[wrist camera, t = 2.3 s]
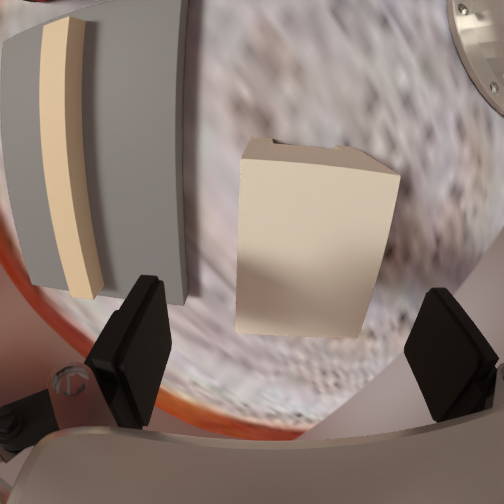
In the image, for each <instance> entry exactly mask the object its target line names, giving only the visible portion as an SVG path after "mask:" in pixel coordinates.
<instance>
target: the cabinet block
mask: <svg viewBox="0 0 504 504" xmlns="http://www.w3.org/2000/svg"><path fill="white" fill-rule="evenodd" d="M400 177H401V176H400V175H399V174H397V173H396V172H394V171H392V170H391V169H389V168H388V167H386V166H384V165H383V164H381V163H380V162H378V161H376V160H375V159H373V158H371V157H370V156H368V155H366V154H364V153H363V152H361V151H359V150H358V149H356V148H354V147H348V146H340V145H334V149H327V148H318V147H308V146H298V145H287V144H274V143H273V141H272V139H270V138H254V137H251V139H250V141H249V143H248V145H247V147H246V149H245V151H244V153H243V155H242V157H241V165H240V191H239V219H238V250H237V285H236V327H235V333H245V334H260V335H277V336H300V337H342V338H358V336H359V333H360V330H361V327H362V325H363V322H364V319H365V316H366V313H367V309H368V306H369V303H370V300H371V297H372V293H373V290H374V287H375V283H376V280H377V276H378V273H379V269H380V266H381V262H382V258H383V255H384V251H385V247H386V243H387V239H388V235H389V230H390V226H391V222H392V217H393V213H394V208H395V203H396V198H397V193H398V188H399V183H400Z"/></svg>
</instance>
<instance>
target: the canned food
mask: <svg viewBox="0 0 504 504" xmlns="http://www.w3.org/2000/svg"><path fill="white" fill-rule="evenodd" d="M24 1H29V2H42V1H48V0H24Z"/></svg>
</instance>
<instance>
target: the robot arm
mask: <svg viewBox="0 0 504 504" xmlns="http://www.w3.org/2000/svg"><path fill="white" fill-rule="evenodd" d="M446 2H447V16H448V21H449V27H450V30H451V34H452V37H453V40H454V44H455V46H456V49H457V51H458V53H459V56H460V58H461V61H462V63H463V65H464V66H465V68H466V70H467V72H468V74H469V76H470V78H471V79H472V81H473V82H474V84H475V85H476V87H477V88H478V90H479V92H480V93H481V94H482V95H483V96H484V97H485V99H486V100H487V101H488V102H489V104H490V105H492V106H493V107H494V108H495V109H496V110H497V111H498V112H499V113H500V114H502V115H504V0H446ZM171 347H172V339H171V332H170V326H169V318H168V311H167V303H166V295H165V287H164V282H163V280H159V278H158V276H155V275H140V276H139V278H138V279H137V281H136V283H135V284H134V286H133V287H132V289H131V291H130V292H129V294H128V296H127V297H126V299H125V301H124V302H123V304H122V305H121V307H120V309H119V310H116V311H114V312H113V314H112V315H111V317H110V318H109V320H108V322H107V323H106V325H105V327H104V329H103V330H102V332H101V334H100V335H99V337H98V339H97V341H96V342H95V344H94V346H93V348H92V349H91V351H90V353H89V355H88V356H87V358H86V360H85V362H84V364H82V363H79V362H70V363H65V364H63V365H61V366H59V367H57V368H56V369H55V370H54V371H53V372H52V373H51V375H50V376H49V379H48V389H46V390H43V391H41V392H38V393H35V394H33V395H30V396H28V397H25V398H23V399H20V400H18V401H15V402H13V403H10V404H7V405H4V406H2V407H1V408H0V504H504V363H502V364H500V366H499V367H498V368H497V369H496V367H495V364H496V363H497V361H498V360H499V357H498V356H497V354H496V353H495V352H494V350H493V349H492V347H491V346H490V344H489V343H488V342H487V340H486V339H485V337H484V336H483V335H482V333H481V332H480V331H479V329H478V328H477V326H476V325H475V324H474V322H473V321H472V320H471V318H470V317H469V316H468V315H467V313H466V312H465V311H464V309H463V308H462V307H461V306H460V304H459V303H458V302H457V301H456V299H455V298H454V297H453V296H452V294H451V293H450V292H449V291H448V290H447V289H446V288H431V289H430V291H429V292H427V293H426V295H425V298H424V300H423V303H422V306H421V308H420V311H419V313H418V316H417V318H416V321H415V323H414V325H413V328H412V330H411V332H410V335H409V337H408V339H407V342H406V344H405V346H404V354H405V356H406V358H407V361H408V363H409V365H410V367H411V369H412V372H413V374H414V376H415V378H416V381H417V382H418V385H419V387H420V390H421V392H422V394H423V396H424V399H425V401H426V404H427V406H428V409H429V411H430V413H431V416H432V418H433V420H434V421H436V422H437V423H435V424H431V425H426V426H422V427H416V428H412V429H406V430H400V431H395V432H389V433H382V434H375V435H367V436H359V437H350V438H338V439H325V440H305V441H248V440H228V439H216V438H204V437H193V436H184V435H175V434H168V433H162V432H154V431H146V430H142V427H143V426H148V424H149V421H150V418H151V414H152V411H153V408H154V404H155V401H156V397H157V394H158V391H159V387H160V384H161V381H162V377H163V374H164V371H165V368H166V364H167V361H168V358H169V355H170V352H171Z"/></svg>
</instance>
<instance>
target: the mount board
mask: <svg viewBox="0 0 504 504" xmlns="http://www.w3.org/2000/svg"><path fill="white" fill-rule="evenodd" d="M188 2H189V0H112V1H108V2H104V3H100V4H97V5H93V6H90V7H87V8H83V9H80V10H77V11H74V12H71V13H68V14H65V15H63V16H60V17H57V18H54V19H52V20H49V21H47V22H44V23H42V24H39V25H37V26H35V27H32V28H30V29H28V30H26V31H24V32H21V33H19V34H17V35H15V36H13V37H11V38H9V39H7V40H5V41H3V47H2V58H1V74H0V121H1V137H2V149H3V158H4V167H5V174H6V181H7V187H8V193H9V199H10V204H11V209H12V214H13V218H14V223H15V227H16V231H17V235H18V239H19V243H20V247H21V250H22V254H23V257H24V261H25V264H26V267H27V271H28V274H29V277H30V280H31V283H32V284H33V285H38V286H44V287H49V288H55V289H61V290H67V291H70V294H71V296H73V297H79V298H85V299H92V300H94V299H95V297H96V296H97V295H100V296H107V297H114V298H122V299H126V297H127V296H128V294H129V292H130V291H131V289H132V287H133V286H134V284H135V283H136V281H137V279H138V278H139V276H140V275H155V276H158V278H159V280H163V282H164V287H165V295H166V303H167V304H172V305H182V306H184V304H185V301H186V299H187V296H188V279H187V265H186V249H185V229H184V204H183V156H182V129H183V82H184V59H185V41H186V27H187V14H188Z"/></svg>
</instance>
